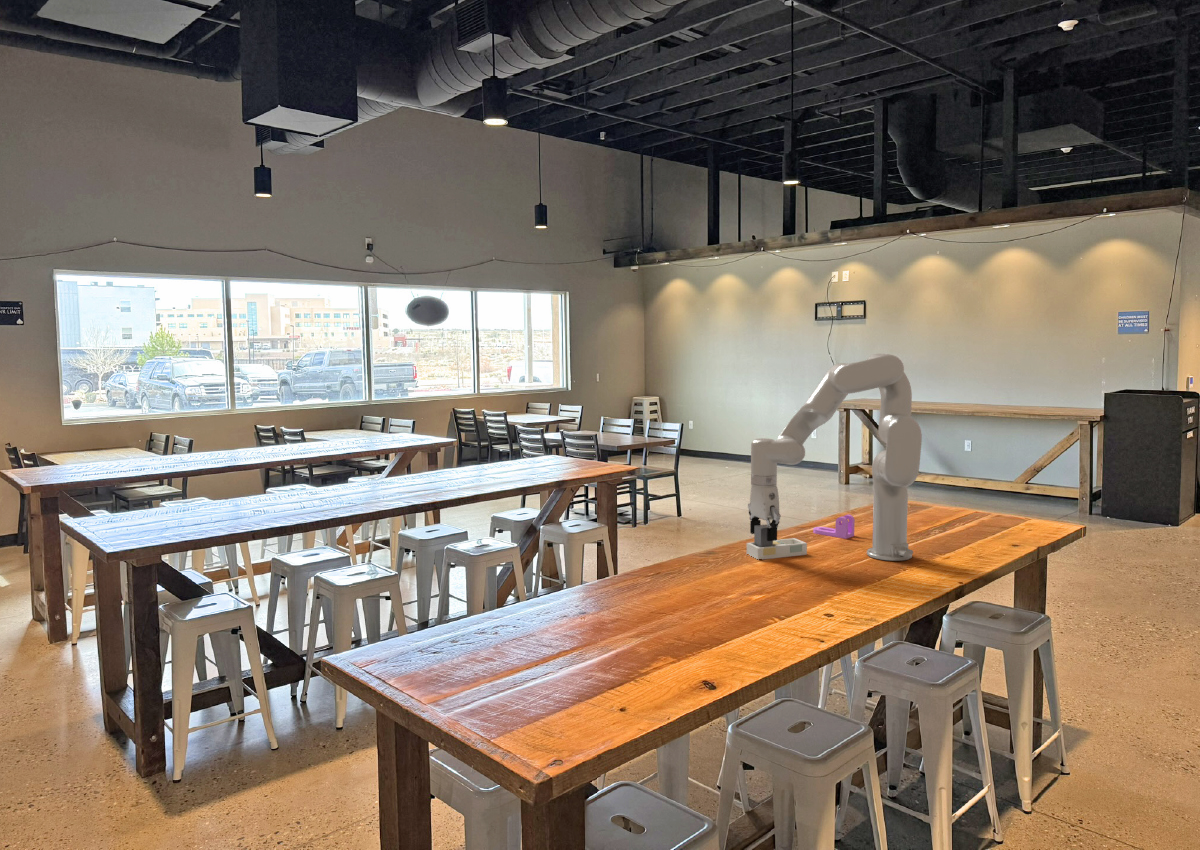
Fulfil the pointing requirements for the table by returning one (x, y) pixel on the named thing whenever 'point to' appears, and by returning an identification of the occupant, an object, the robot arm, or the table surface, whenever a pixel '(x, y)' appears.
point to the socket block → (778, 549)
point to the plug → (761, 536)
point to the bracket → (838, 528)
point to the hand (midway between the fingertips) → (763, 536)
